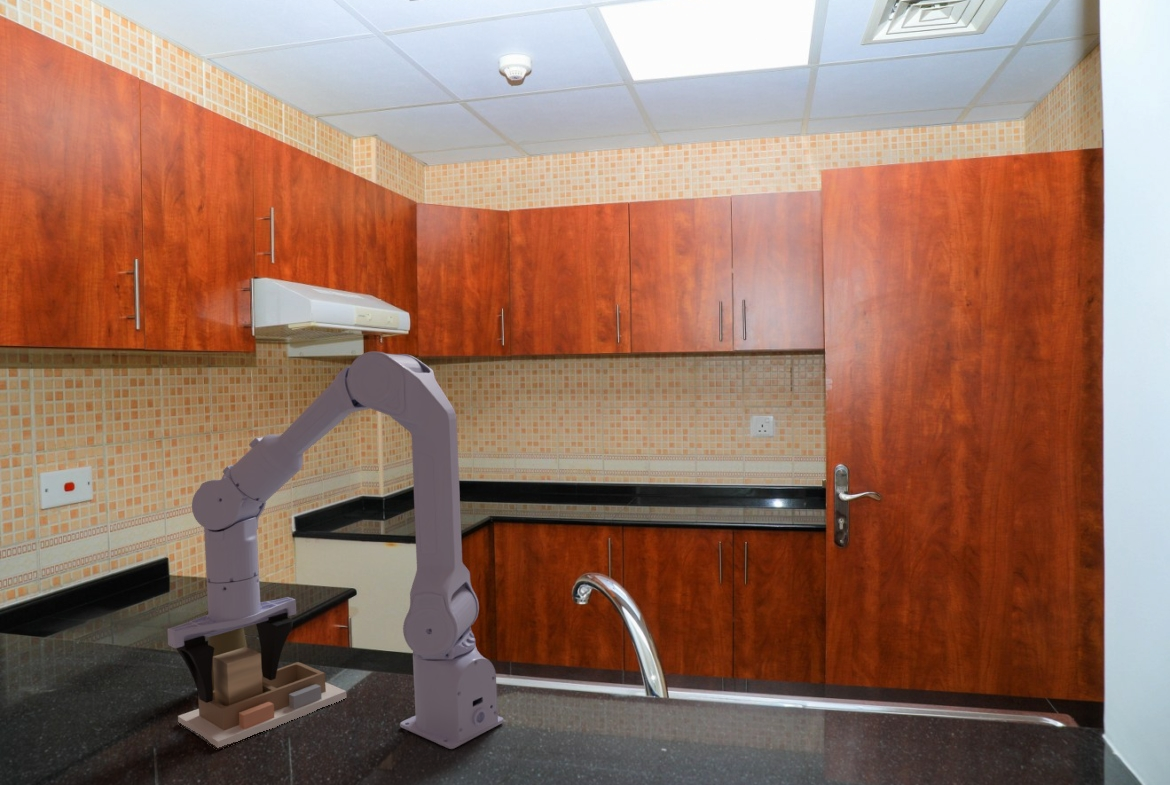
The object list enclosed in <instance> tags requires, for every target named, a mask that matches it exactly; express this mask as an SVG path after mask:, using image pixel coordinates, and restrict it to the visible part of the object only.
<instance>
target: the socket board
mask: <svg viewBox="0 0 1170 785" xmlns="http://www.w3.org/2000/svg"><path fill="white" fill-rule="evenodd" d="M262 687H263V694H260V695H257V696H254V697H251V698H249V699H246V700H243V701H240V702H238V703H235V704H232V705H229V706H224V705H222V704H220V703H218V702H217V701H215V692H214V691H213V701H211V702H208V703H205V702H204V701H202V700H200V699H199V695H198V696H197V698H198V700H197V701H198V708H196V709H194V710H190V711H188V712H186V713H185V712H184V713H182V714H180V715H177V721H178V722H179V723H181V724H182V725H184V726H186V727H188V728H190V729H191V730H193V731H195V732H196V733H198V734H200V735H201V736H203V737H204V738H205V739H207V740H208V741H209V742H210V743H211V744H213V745H215V746H216V747H217V748H219V747H222V746H224V745H227V744H231V743H233V742H238V741H240V740H242V739H245V738H247V737H250V736H252V735H254V734H257V733H259V732H263V731H265V732H267V731H266V730H268V731H270V730H273V729H275V728H277V726H278V727H280V726H282V725H281V724H283V725H285V724H287V722H288V723H290V722H292V721H291V720H293V721H295V720H297V718H298V719H300V718H303V717H305V716H307V714H308V715H310V714H313V713H315V712H317V711H316V710H317V709H320V708H322V707H325V706H328V705H330V706H332V705H335V704H337V703H339V701H340V702H342V701H344V700H343V699H345V698H347V691H346V690H344V689H343V688H340V687H338V686H335V685H333V684H331V683H328V682H326V673H325V672H323V671H322V670H319V669H316V668H314V667H311V666H309V665H307V664H304V663H302V662H299V661H297V662H294V663H291V664H288V665H285V666H282V667H280V668H277V674H276V679H273V680H269V679H267V678H264V677H263V674H262ZM341 700H342V701H341ZM345 700H346V699H345ZM336 702H337V703H336ZM334 703H335V704H334ZM331 704H332V705H331ZM328 707H329V706H328ZM325 708H326V707H325ZM320 710H321V709H320ZM314 711H315V712H314ZM312 712H313V713H312ZM309 713H310V714H309ZM302 716H303V717H302ZM299 717H300V718H299ZM294 719H295V720H294ZM289 721H290V722H289ZM178 722H177V723H178ZM284 723H285V724H284ZM279 725H280V726H279ZM272 728H273V729H272ZM269 729H270V730H269ZM263 733H264V732H263ZM238 743H239V742H238Z"/></svg>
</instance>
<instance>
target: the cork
mask: <svg viewBox="0 0 1170 785" xmlns="http://www.w3.org/2000/svg"><path fill="white" fill-rule="evenodd" d="M206 615H208V612H207V613H206V614H205V616H206ZM208 645H210V646H212V647H214V653H213V657H214V656H217V655H220V654H224V653H227V652H230V651H234V650H237V649H240V648H244V647H248V644H247V639H246V634H245V627H243V628H239V629H235V630H232V631H228V632H225V633H221V634H218V635H214V636H211V637H209V640H208ZM212 685H213V691H214V672H213V661H212Z"/></svg>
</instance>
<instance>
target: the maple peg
mask: <svg viewBox="0 0 1170 785" xmlns="http://www.w3.org/2000/svg"><path fill="white" fill-rule="evenodd" d="M213 672H214V692H215V701H217V702H218V703H220V704H222V705H224V706H229V705H232V704H235V703H238V702H240V701H243V700H246V699H249V698H251V697H254V696H257V695H260V694H263V687H262V667H261V652H259V651H257V650H255V649H252V648H249V647H248V646H247V647H244V648H240V649H237V650H234V651H230V652H227V653H224V654H220V655H217V656H214V657H213Z"/></svg>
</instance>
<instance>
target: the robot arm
mask: <svg viewBox="0 0 1170 785" xmlns="http://www.w3.org/2000/svg"><path fill="white" fill-rule="evenodd" d="M365 410H373V411H377V412H379V413H382V414H383V415H387V416H389V417H390V418H391V419H392V420H394V421H395V422H397V423H398V424H399V425H400V426H401V427H403V428H404V429H405V430H407V431H408V432H409V433H410V435H411V451H412V452H411V454H412V455H411V456H412V475H413V477H412V478H413V480H412V481H413V503H414V504H413V505H414V526H415V528H414V530H415V531H414V532H415V533H414V534H415V553H416V557H415V558H416V572H415V575H414V579H413V582H412V585H411V589H410V592H409V598H410V599H409V609H408V612H407V613H406V616H405V618H404V621H403V626H402V633H403V637H404V640H405V642H406V644H407V646H408V647H409V649H410V650H411V651H412V666H413V667H412V668H413V669H412V670H413V688H414V706H415V707H414V708H415V715H414V716H411V717H409V718H407V719H405V720H403V721H401V722H399V726H400V728H402V729H404V730H406V731H409V732H411V733H413V734H415V735H417V736H420V737H422V738H424V739H426V740H429V741H431V742H434V743H436V744H438V745H439V746H442V747H445V748H447V749H450V750H454V749H455V748H457V747H460V746H461V745H464V744H465V743H468V742H469V741H471V740H473V739H474V738H477V737H479V736H480V735H483V734H484V733H486V732H487V731H490V730H492V729H494V728H495V727H497V726H499V725H501V724H503V722H504V717H502V716H501V715H500V716H499V715H498V713H499V712H498V691H497V674H496V673H497V672H496V669H495V667H494V664H493V663H492V662H491V661H490V660H489V659H488V658H486V657H484V656H483V655H482V654H481V653H480V652H479V651H478V649H477V646H476V638H475V634H474V633H473V631H472V627H471V626H472V625H474V624H475V622H476V620H477V618H478V615H479V612H480V611H479V610H480V605H479V599H478V597H477V596H478V595H477V594H476V593H475V591H474V589H473V587H472V583H471V572H470V571H469V569H468V568H467V567H466V565H465V564H464V563H463V546H462V525H461V524H462V523H461V522H462V520H461V500H460V499H461V497H460V493H461V491H460V471H459V468H460V467H459V446H458V445H459V442H458V440H459V439H458V421H457V420H458V419H457V414H456V411H455V409H454V407H453V405H452V404H451V402H450V401H449V399H448V398H447V396H446V394H445V392H444V391H443V389H442V388H441V386H440V384H439V383H438V382H437V380H436V376H435V373H434V370H433V368H430V367H429V366H428V365H427V364H425V363H424V362H422V361H421V360H420V359H418V358H416V357H415V356H413V355H410V354H405V353H404V354H403V353H398V354H393V353H392V354H391V353H385V352H382V351H367V352H365V353H362V354H360V355H359V356H357V357H356V358H355V359H354V360H353V362H352V363H351V364H350V366H346V367H345V368H343V369H342V370H340V371H339V372H338V374H337V375H336V376H335V378H334V379H333V380H332V382H331V383H330V384H329V385H328V386H327V387H326V388H325V389H324V390H323V392H321V393H320V395H319V396H318V397H317V398H315V400H314V401H313V402H312V403H311V404H310V405H308V406H307V408H306V409H304V411H303V412H302V413H301V414H300V415H299V416H298V417H297V418H296V419H295V420H294V421H293V423H291V424H290V426H289V427H287V428H286V429H285V430H284V432H282V434H272V433H271V434H267V435H265V436H262V437H261V436H260V437H255V438H254V439H253V440H252V441H251V442H250V443H249V444H248V445H249V447H250V450H248V452H246V453H245V454H244V455H243V456H242V457H240V458H239V459H238V461H237V462H235V464H231V465H227V466H226V467H225V468H224V469H222V473H223V475H222V476H221V478H220V479H210V480H207V481H205V482H202V483H201V484H200V486H199V488H198V489H197V490H196V491H195V493H194V495H193V497H192V499H191V500H192V501H191V511H192V514H193V517H194V519H195V520H196V522H197V523H198V524H199V525H200V526H202V527H203V533H204V550H205V552H204V555H205V569H206V570H205V575H206V591H207V592H206V595H207V613H208V615H206V614H205V615H203V616H201V617H197V618H195V619H192V620H190V621H187V622H184V623H182V624H179V625H175V626H171V627H170V628H167V646H169V647H172V648H173V649H176V651H177V653H178V654H179V656H181V658H182V659H183V662H184V663H185V665H186V666H187V668H188V670H189V672H190V674H191V676H192V679H193V681H194V685H195V687H196V691H197V695H198V696H199V699H200V700H202V701H204V702H205V703H208V702H211V701H213V685H212V661H213V653H214V647H212V646H210V645H209V640H206V638H210V637H211V636H214V635H218V634H221V633H225V632H228V631H232V630H235V629H239V628H245V627H248V626H252V625H256V629H257V634H258V639H259V646H260V653H261V667H262V674H263V677H264V678H267V679H269V680H273V679H276V674H277V669H279V668H278V667H279V662H280V658H281V655H282V652H283V648H284V647H285V644H286V641H287V639H288V637H289V635H290V633H291V631H292V629H293V627H294V625H293V624H294V623H293V619H292V618H289V617H291V616H293V615H297V606H296V605H297V602H296V599H295V598H293V597H289V596H287V597H283V598H278V599H274V600H267V601H261V590H260V570H259V552H258V551H259V547H258V545H259V544H258V530H259V518H260V517H261V515H262V513H263V512H264V510H265V507H266V504H267V501H268V500H269V499H270V498H271V497H272V496H274V495H275V493H276V492H278V491H279V490H280V489H282V487H284V485H285V484H287V483H288V482H289V481H290V480H291V479H292V478H293V477H294V476H295V475H296V474H298V473H299V472H300V470H302V468H303V464H304V458H303V457H304V453H306V451H308V450H309V449H310V448H311V447H313V446H314V445H315V444H316V443H317V442H318V441H320V440H321V439H322V438H323V437H324V436H326V435H327V434H328V433H329V432H331V431H332V430H333V429H334V428H335V427H337V426H338V425H339V424H340V423H341V422H343V421H344V420H345V419H346V418H347V417H348V416H350V415H351V414H354V413H355V412H361V411H365Z"/></svg>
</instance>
